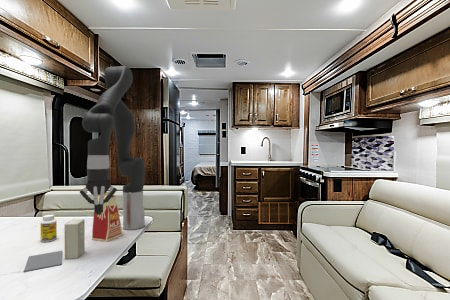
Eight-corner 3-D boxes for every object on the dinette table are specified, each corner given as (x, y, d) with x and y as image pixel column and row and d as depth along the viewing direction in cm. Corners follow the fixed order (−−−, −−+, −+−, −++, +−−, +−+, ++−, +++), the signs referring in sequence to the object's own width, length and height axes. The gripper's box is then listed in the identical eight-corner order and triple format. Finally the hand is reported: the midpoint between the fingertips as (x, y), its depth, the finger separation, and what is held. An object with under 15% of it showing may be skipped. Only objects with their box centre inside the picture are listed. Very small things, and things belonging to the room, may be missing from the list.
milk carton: (122, 235, 117) (122, 189, 117) (107, 242, 108) (106, 192, 108) (105, 233, 120) (105, 188, 120) (89, 239, 111) (88, 191, 111)
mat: (62, 251, 99) (62, 250, 99) (61, 264, 88) (61, 263, 88) (28, 257, 94) (28, 256, 94) (23, 272, 83) (23, 270, 83)
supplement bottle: (40, 243, 108) (40, 218, 107) (40, 239, 112) (40, 215, 112) (56, 240, 111) (56, 216, 111) (56, 237, 115) (56, 213, 115)
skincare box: (72, 252, 98) (72, 219, 98) (85, 251, 99) (85, 218, 99) (64, 259, 92) (63, 224, 92) (77, 258, 92) (77, 223, 92)
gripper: (116, 166, 106) (116, 210, 106) (77, 167, 99) (77, 214, 99) (119, 167, 99) (119, 214, 99) (78, 168, 93) (78, 218, 93)
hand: (98, 214), depth 99 cm, fingers closed
